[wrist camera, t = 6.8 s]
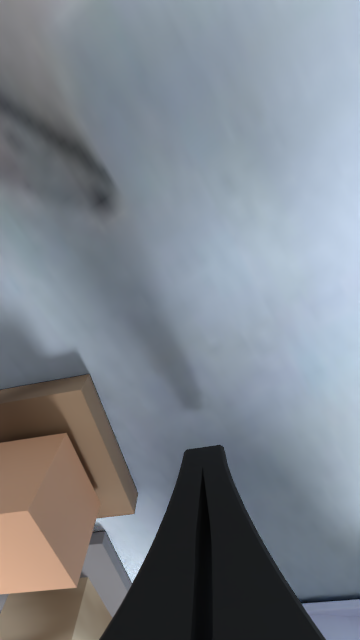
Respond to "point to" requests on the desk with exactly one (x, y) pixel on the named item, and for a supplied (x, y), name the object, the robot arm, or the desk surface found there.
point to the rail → (73, 434)
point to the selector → (43, 514)
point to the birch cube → (55, 614)
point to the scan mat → (102, 573)
